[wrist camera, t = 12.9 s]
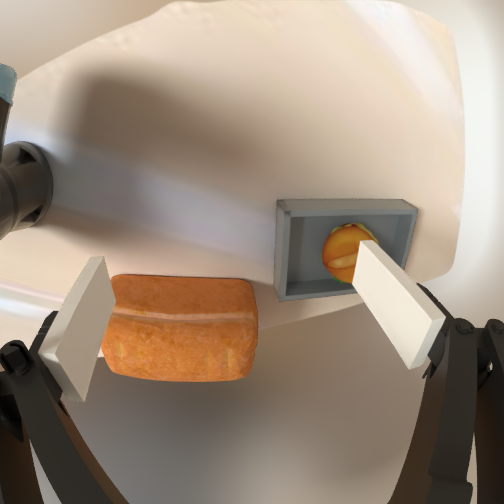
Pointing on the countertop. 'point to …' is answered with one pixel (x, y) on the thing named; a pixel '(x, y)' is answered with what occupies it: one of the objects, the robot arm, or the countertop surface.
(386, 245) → the box
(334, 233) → the cheeseburger
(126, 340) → the bread
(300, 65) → the countertop surface
